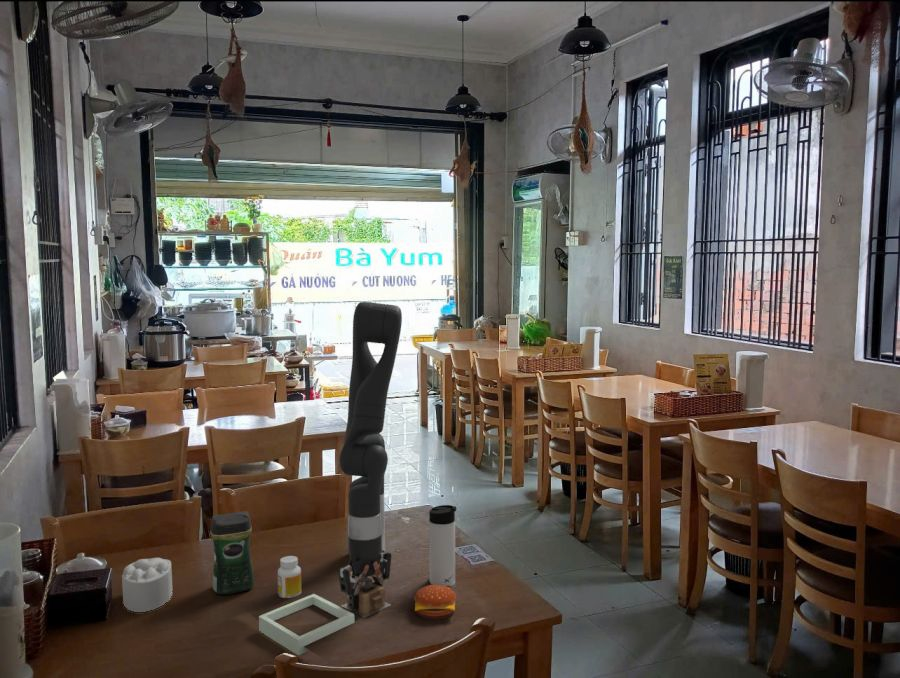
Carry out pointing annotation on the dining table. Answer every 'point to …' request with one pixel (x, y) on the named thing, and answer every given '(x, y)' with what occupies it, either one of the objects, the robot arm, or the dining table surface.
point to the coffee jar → (232, 553)
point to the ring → (370, 599)
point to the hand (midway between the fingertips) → (365, 604)
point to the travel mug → (442, 545)
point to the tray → (298, 642)
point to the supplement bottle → (289, 577)
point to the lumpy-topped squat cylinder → (147, 584)
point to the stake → (365, 588)
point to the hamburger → (435, 602)
